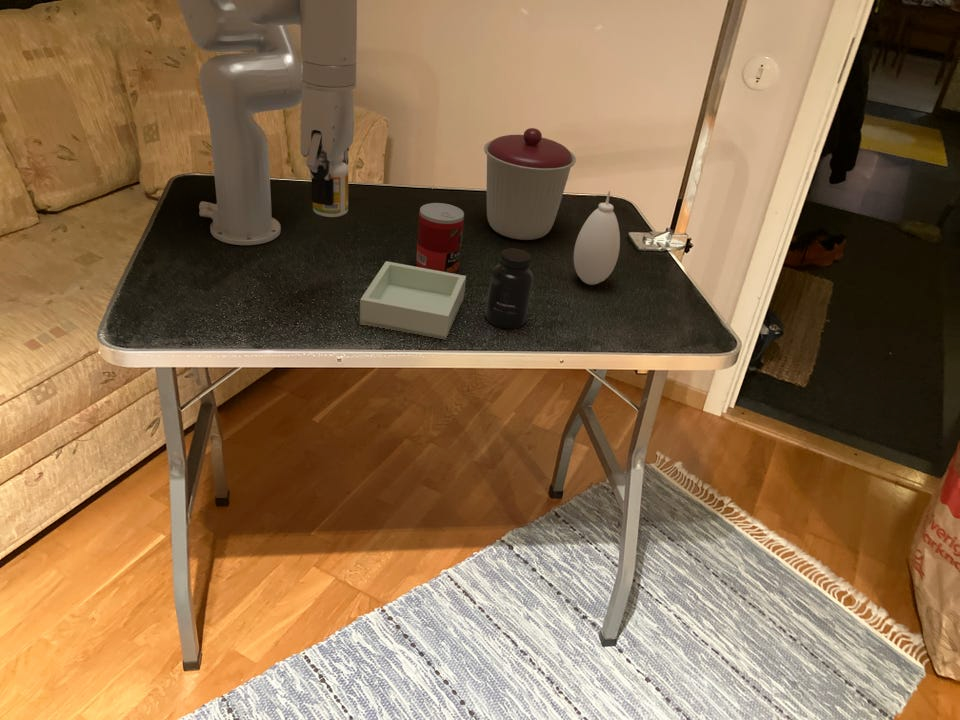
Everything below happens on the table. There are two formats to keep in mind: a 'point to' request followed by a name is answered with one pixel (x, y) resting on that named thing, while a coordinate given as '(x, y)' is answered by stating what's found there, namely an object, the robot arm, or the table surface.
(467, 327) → the table surface
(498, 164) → the canister
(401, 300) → the bin
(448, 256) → the canned food
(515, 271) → the supplement bottle
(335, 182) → the supplement bottle
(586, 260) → the air blower bulb
